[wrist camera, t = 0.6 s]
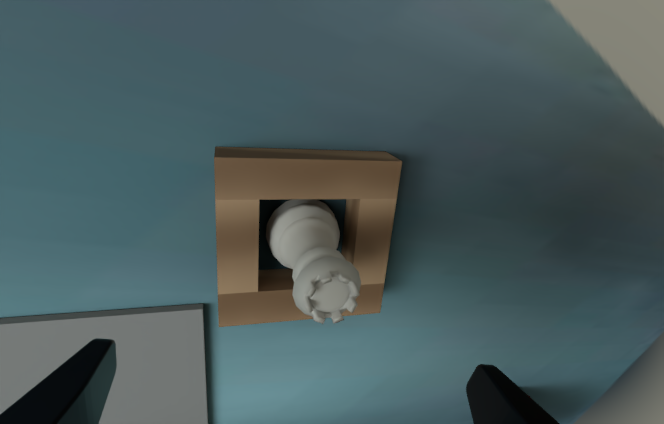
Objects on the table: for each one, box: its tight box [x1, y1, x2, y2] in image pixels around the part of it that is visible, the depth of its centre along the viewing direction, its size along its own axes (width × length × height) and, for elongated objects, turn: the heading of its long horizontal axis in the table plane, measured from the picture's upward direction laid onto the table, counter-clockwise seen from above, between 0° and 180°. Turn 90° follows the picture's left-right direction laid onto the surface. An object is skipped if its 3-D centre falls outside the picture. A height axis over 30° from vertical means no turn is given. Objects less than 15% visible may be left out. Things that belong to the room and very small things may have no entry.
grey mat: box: [0, 304, 208, 424], centre depth 25 cm, size 12×12×1 cm
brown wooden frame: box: [214, 147, 402, 327], centre depth 23 cm, size 10×10×2 cm
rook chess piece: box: [266, 199, 361, 324], centre depth 21 cm, size 4×4×8 cm
